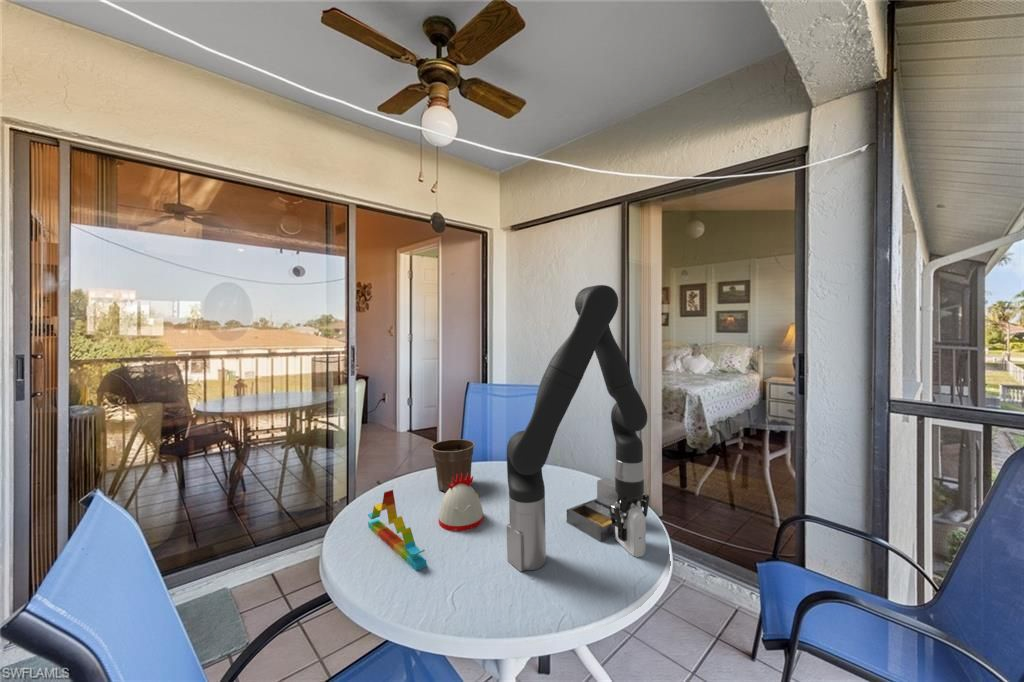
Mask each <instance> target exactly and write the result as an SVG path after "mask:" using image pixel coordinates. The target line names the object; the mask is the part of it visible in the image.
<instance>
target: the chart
mask: <svg viewBox="0 0 1024 682" xmlns="http://www.w3.org/2000/svg"><path fill="white" fill-rule="evenodd" d="M382 498H383V499H382V502H381V503H378V504H375V505H373V509H372V512H370V513H368V514H367V516H368V517H369V521H368V522H367V523H368V524H367V525H368V528H369V529H370V530H371V531H372V532H373V533H374V534H375V535H376V536H377V537H379V538H380V540H382V541H383V542H384V543H385V544H386V545H387V546H388V547H390V548H391V550H393V551H394V552H395V553H396V554H397V555H398V556H399V557H400V558H401V559H402V560H404V561H405V562H406V563H407V564H408V565H409V566H410V567H411V568H412V569H413V570H414V571H415V572H417V571H419V570H421V569H423V568H426V567H427V559H426V558H425V557H424V556H422V555H421V553H423V552H425V549H421V550H420V548H419V547H418V546H417V545H416V542H415V539H414V534H413V531H412V528H411V526H410V527H406V525H405V521H404V519H403V517H402V515H401V516H398V513H397V507H396V501H395V496H394V489H391V490H388V491H384V493H383V497H382ZM383 511H386V512H387V513H386V514H387V520H388V525H392V524H393V525H394V529H395V531H396V533H397V534H396V533H395V532H394V531H393V530H391V529H390V528H389V527H388V526H387V525H385V524H384V522H382V521H381V519H379V518H380V516H381V512H383ZM398 534H401V535H402V538H401V537H400V536H398Z"/></svg>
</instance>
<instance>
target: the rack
mask: <svg viewBox="0 0 1024 682" xmlns="http://www.w3.org/2000/svg"><path fill="white" fill-rule="evenodd" d="M596 490H597V492H596V494H597V495H596V496H597V497H596V498H595V499H591V500H589V501H586V502H584V503H581V504H580V503H579V505H576V506H573V507H570V508H567V509H566V523H567V524H569V525H570V526H573V527H574V528H576V529H577V530H579V531H581V532H583V533H584V534H586V535H588V536H590V537H591V538H593V539H595V540H596V541H598V542H600V543H602V542H604V541H606V540H608V539H611V538H613V537H615V526H614V525H612V522H611V516H610V510H609V505H610V504H612V505H614V504H616V502H617V499H618V494H617V493H616V491H615V480H613V479H610V478H608V477H604V478H601V479H597V480H596Z"/></svg>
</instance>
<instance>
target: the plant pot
mask: <svg viewBox="0 0 1024 682" xmlns="http://www.w3.org/2000/svg"><path fill="white" fill-rule="evenodd" d="M474 447H475V443H474V441H472V440H470V439H462V438H458V439H457V438H455V439H446V440H440V441H436V442H435V443H433V444H432V445H431V450H432V454H433V455H432V456H433V459H434V463H435V472H436V480H437V489H438V490H439V491H441V492H442V491H443V492H444V493H446V492H447V491H448V490H449V489H450V487H449V485H448V483H449V484H450V485H453V481H452V478H453V479H454V480H455V481H456V476H457V474H458V476H459V480H461V474H463V477H464V479H466V476H467V473H468V474H469V479H471V477H472V460H473V455H474ZM447 482H448V483H447Z"/></svg>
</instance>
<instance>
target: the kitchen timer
mask: <svg viewBox="0 0 1024 682" xmlns="http://www.w3.org/2000/svg"><path fill="white" fill-rule="evenodd" d="M473 479H474V476H473V475H471V479H469V474H468V473H467V476H466V479H464V477H463V474H461V480H459V476H458V474H457V476H456V481H455V480H454V479H453V478H452V481H453V485H450V484H449V483H448V482H447V483H448V485H449V487H450V489H449V490H448V491H447V492H445V493H444V496H443V498H442V500H441V504H440V507H439V511H438V524H439V526H440V527H441V528H442V529H444V530H446V531H450V532H465V531H470V530H473V529H475V528H477V527H478V526H480V525H481V524H482V523H483V521H484V510H483V506H482V504H481V500H480V498H479V497H480V495H479V494H478V492H476V491H475V490H474V488H473V487H472V486H471V485H472V483H473V481H474V480H473Z"/></svg>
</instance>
